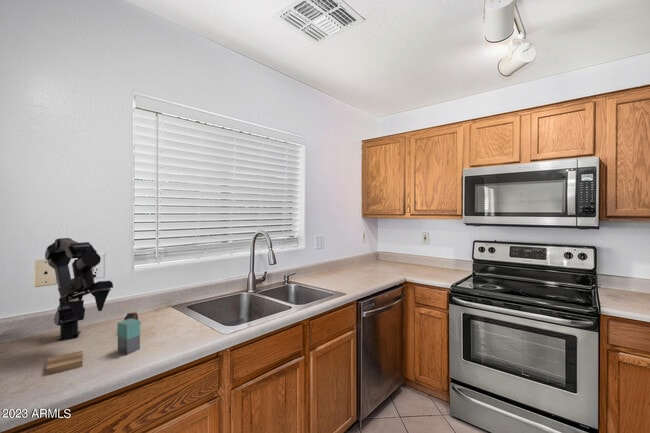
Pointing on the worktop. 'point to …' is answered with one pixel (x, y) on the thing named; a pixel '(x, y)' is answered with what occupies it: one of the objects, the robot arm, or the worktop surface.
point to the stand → (64, 362)
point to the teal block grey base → (128, 336)
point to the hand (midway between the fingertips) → (90, 314)
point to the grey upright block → (131, 316)
